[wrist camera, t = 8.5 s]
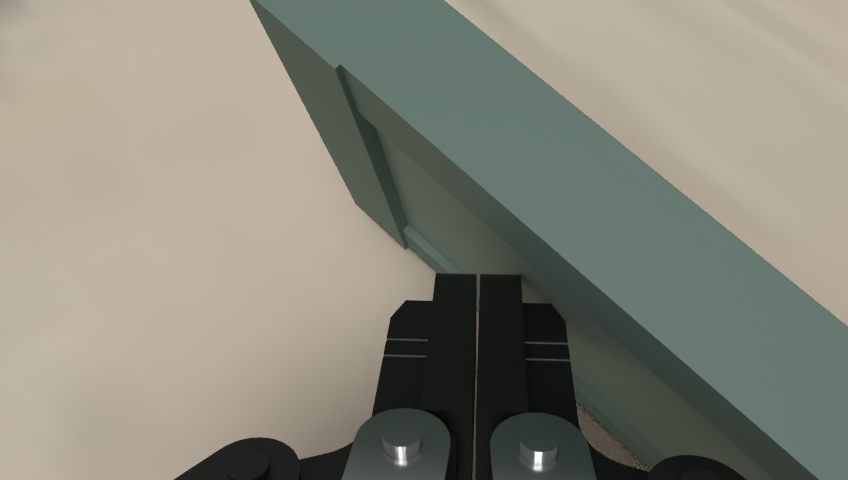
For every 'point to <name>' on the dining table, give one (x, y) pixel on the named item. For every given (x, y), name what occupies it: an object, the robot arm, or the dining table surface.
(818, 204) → the dining table surface
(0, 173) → the dining table surface
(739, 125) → the dining table surface
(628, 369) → the green rectangular panel
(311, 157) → the dining table surface
